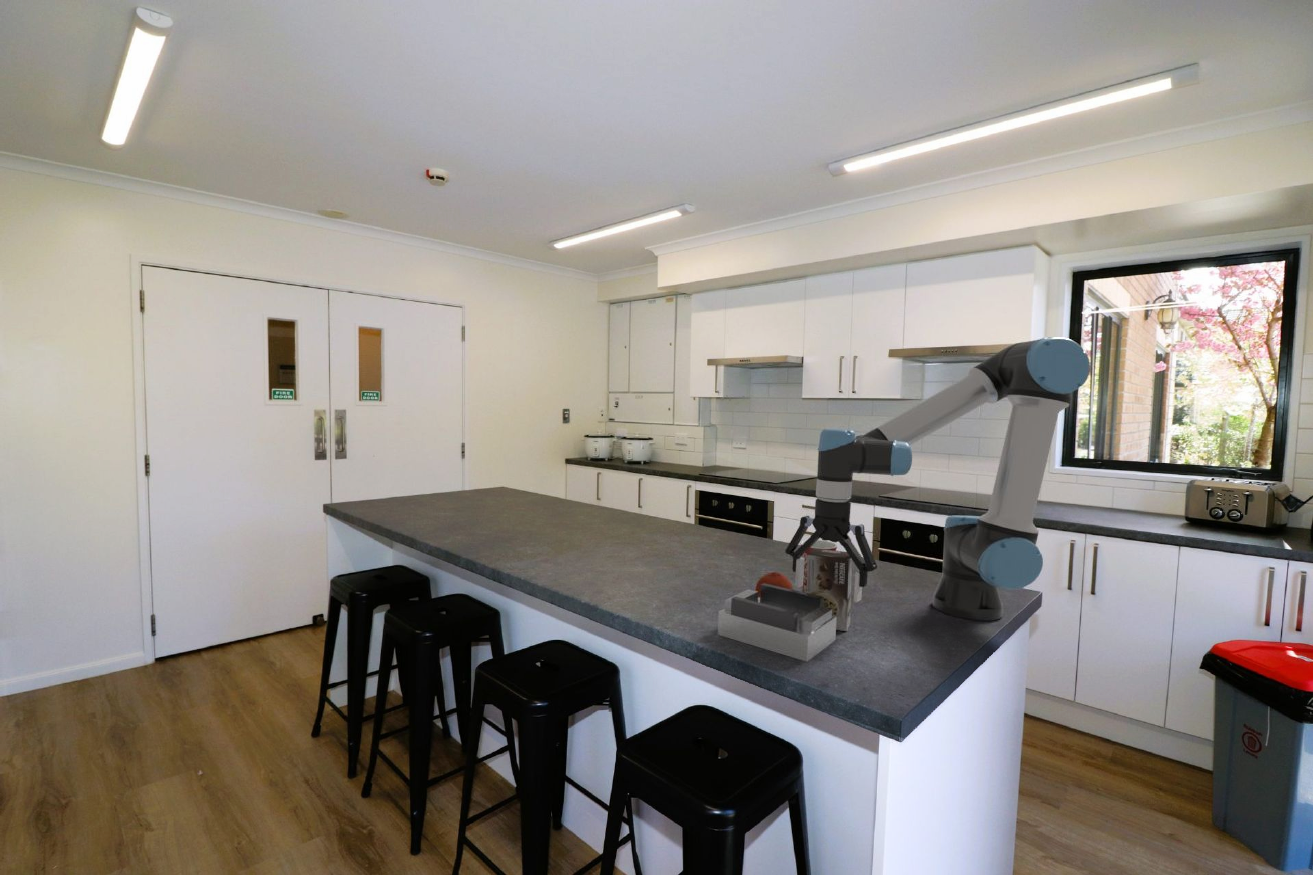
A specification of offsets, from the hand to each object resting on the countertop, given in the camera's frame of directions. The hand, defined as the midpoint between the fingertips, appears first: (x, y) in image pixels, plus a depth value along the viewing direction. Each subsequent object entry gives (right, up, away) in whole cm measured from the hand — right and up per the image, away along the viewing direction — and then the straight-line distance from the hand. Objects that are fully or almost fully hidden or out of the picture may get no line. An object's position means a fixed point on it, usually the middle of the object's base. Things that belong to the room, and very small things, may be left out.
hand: (827, 593), depth 136 cm
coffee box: (0, -7, 0) cm, 7 cm away
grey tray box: (-13, -7, -8) cm, 17 cm away
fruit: (-10, -6, +12) cm, 17 cm away
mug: (+4, -6, +21) cm, 23 cm away
